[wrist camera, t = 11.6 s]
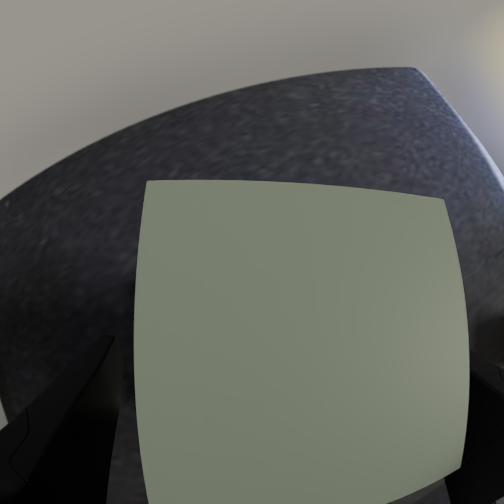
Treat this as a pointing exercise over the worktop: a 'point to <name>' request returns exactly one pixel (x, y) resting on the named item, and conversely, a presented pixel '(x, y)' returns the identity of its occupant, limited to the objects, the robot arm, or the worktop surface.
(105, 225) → the worktop surface
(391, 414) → the sage post
